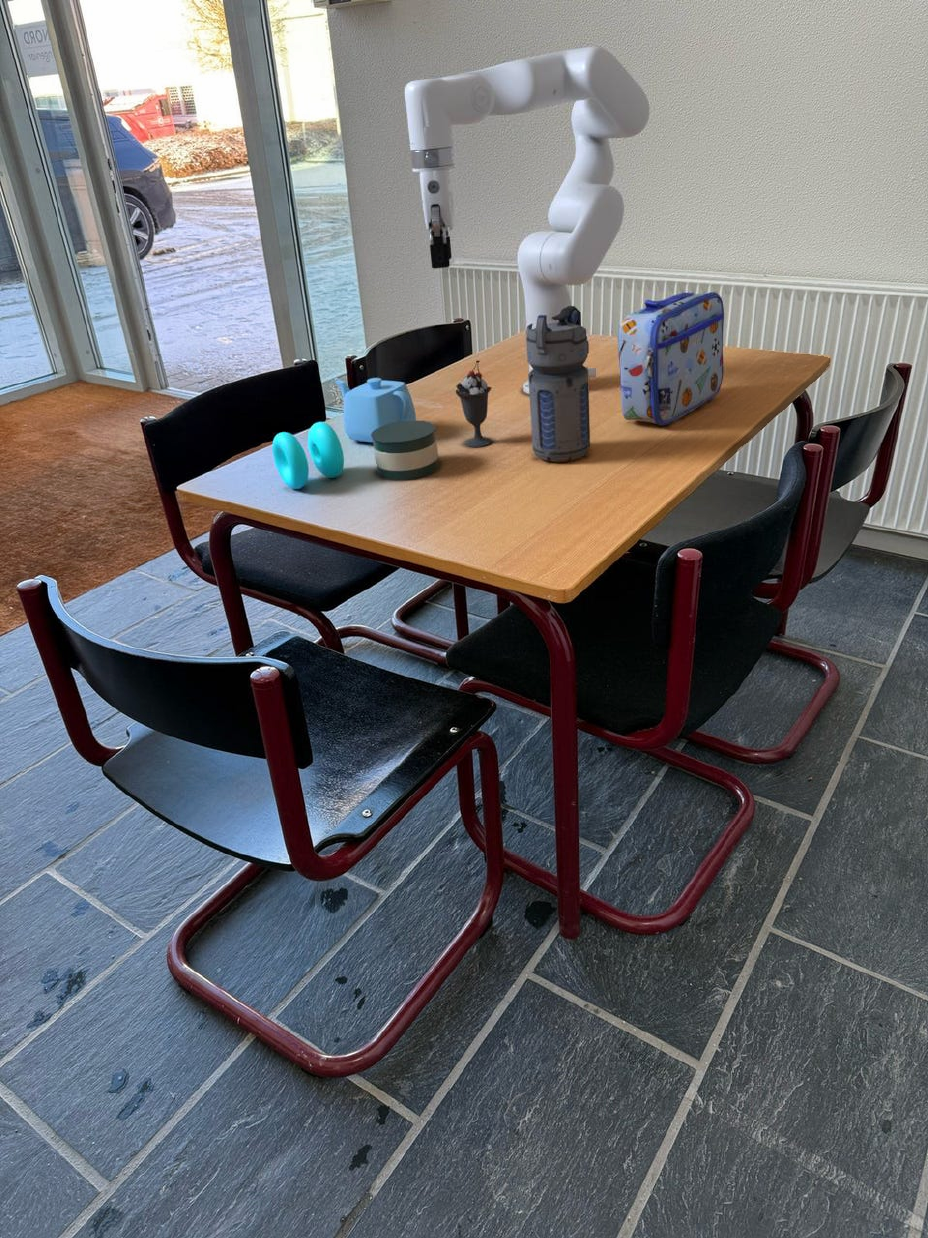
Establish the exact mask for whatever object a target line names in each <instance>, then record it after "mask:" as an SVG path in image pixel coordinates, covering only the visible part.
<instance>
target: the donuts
mask: <svg viewBox="0 0 928 1238" xmlns="http://www.w3.org/2000/svg"><path fill="white" fill-rule="evenodd" d="M307 434H308V435H307V447H308V452H309V455H310V458H311V460H312V462H313V465H314V466H315V468H316V469H317V470H318V471H319V473H320V474H322V475H323V476H324V477H327V478H330V479H334V478H337V477H339V476H340V475H341V474H342V473H343V470H344V467H345V455H344V451H343V446H342V443H341V441H340V439H339V436H338V435H337V432H336V431H335V429H334V428H333V427H332V426H331V425H330V424H329V423H327V422H324V421H318V422H317V421H316V422H315V423H313V425H311V427H310V428H309V431H308V433H307ZM272 456H273V461H274V464H275V468H276V470H277V472H278V474H279V476H280V478H281V480H282V482H284V484H285V485H286V486H287V487H289V488H291V489H293V490H299V489H302V488H303V487H305V485H306V484H307V482H308V479H309V474H310V473H309V472H310V469H309V462H308V458H307V455H306V452H305V450H304V447H303V445H302V444H301V442H300V441H299V440H298V439H297V437H296V436H294V435H293V434H292V433H290V432H288V431H287V432H286V431H282V432H279V433H277V434H276V435H275V436H274V438H273V441H272Z"/></svg>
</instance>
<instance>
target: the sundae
mask: <svg viewBox="0 0 928 1238" xmlns="http://www.w3.org/2000/svg"><path fill="white" fill-rule="evenodd" d="M479 363H480V360H476V362H475V366H474V367H473V369H472V370H469V371H468V374H467V375H466V376H464V378H463V380H461V382H458V384H456V385H455V387H456V390H455V394H456V395H457V396H458V397H459V399H460V402H461V407H462V411H463V414H464V418H465V420H466V421H467V422H468V423H469V424H470V425H472V426H473V429H474V436H473V438H470V439H468V440H466V441H465V445H466V446H467V447H470V448H482V447H486V446H488V445H491V444H492V442H493V441H492V439H491V438H489V437H485V436H483V435H482V431H481V425H482V424H483V423H485V421H486V419H487V416H488V408H489V407H488V405H489V403H488V402H489V393H490V392H491V391H492V388H493V387H491V386H488V383H487V381H486V380H485V379H483V374H482V373H481V372H480V368H479ZM476 367H477V372H476V373H475V371H474V370H475V368H476Z"/></svg>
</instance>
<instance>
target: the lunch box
mask: <svg viewBox="0 0 928 1238" xmlns="http://www.w3.org/2000/svg"><path fill="white" fill-rule="evenodd" d="M724 324H725V308H724V302H723V298H722V296H721V295H720V294H719V293H718V292H715V291H714V292H713V291H711V292H707V293H695V292H681V293H676V294H674V295H671V296H669V297H667V298H664V299H661V300H651V299H646V300H644V307H642V308H639V309H638V310H636V311H633V312H632V313H630V314H628V315H627V316H626V317H624V319H623V320H622V321H621V323H620V325H619V327H618V332H617V349H618V350H617V351H618V362H619V363H618V365H619V374H620V375H619V376H620V403H621V412H622V416H623V419H625V420H626V421H637V422H646V423H651V424H655V425H658V426H659V427H663V426H667V425H671V424H673V422H676V421H677V420H679V419H681V418H682V417H685V416H686V415H687V414H690V413H692V412H693V411H695V410H696V409H697V408H699V407H701V406H702V405H704V404H705V403H706V402H707V401H709V400H711V399H712V398H714V397H715V396H716V395H718V394H719V392H720V390H721V387H722V384H723V380H724V373H725V372H724V371H725V369H724V368H725V367H724V327H725V325H724Z"/></svg>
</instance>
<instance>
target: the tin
mask: <svg viewBox="0 0 928 1238" xmlns="http://www.w3.org/2000/svg"><path fill="white" fill-rule="evenodd" d="M436 429H437V428H436V425H435V424H434V423H432V422H429V421H425V420H418V419H417V420H411V421H400V422H395V423H390V424H387V425H384V426H381V427H379V428H377V429H375V430H374V431H373V432H372V434H371V438H372V439H373V442H372V444H373V452H374V457H375V458H374V459H375V463H376V468H377V474H378V476H380V477H381V478H384V479H387V480H390V481H407V480H415V479H419V478H424V477H426V476H428V475H430V474H433V473H434V472H436V471H437V470H438V468H439V467H440V464H439V452H438V451H439V450H438V444H437V443H438V442H437V438H436Z"/></svg>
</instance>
